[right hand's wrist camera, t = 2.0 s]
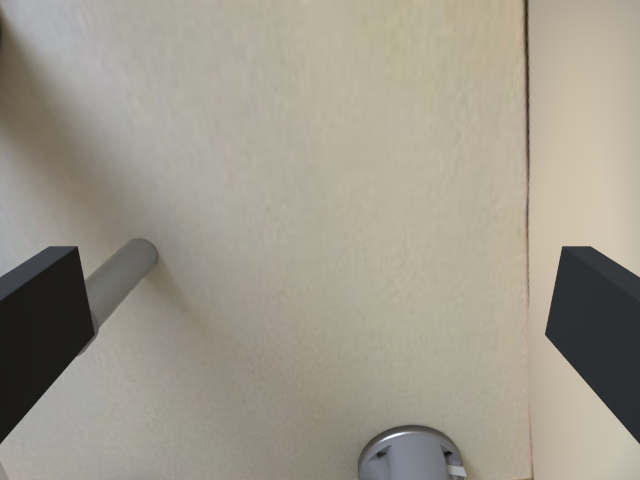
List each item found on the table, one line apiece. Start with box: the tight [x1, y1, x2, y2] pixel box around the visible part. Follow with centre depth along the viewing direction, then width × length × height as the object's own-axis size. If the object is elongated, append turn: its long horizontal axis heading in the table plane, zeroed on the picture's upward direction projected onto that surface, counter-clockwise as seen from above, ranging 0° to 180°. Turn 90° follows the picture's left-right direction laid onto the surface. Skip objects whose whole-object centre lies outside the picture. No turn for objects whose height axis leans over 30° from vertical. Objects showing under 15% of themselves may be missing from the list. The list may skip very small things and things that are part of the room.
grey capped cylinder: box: [84, 238, 158, 328], centre depth 47 cm, size 4×4×18 cm
